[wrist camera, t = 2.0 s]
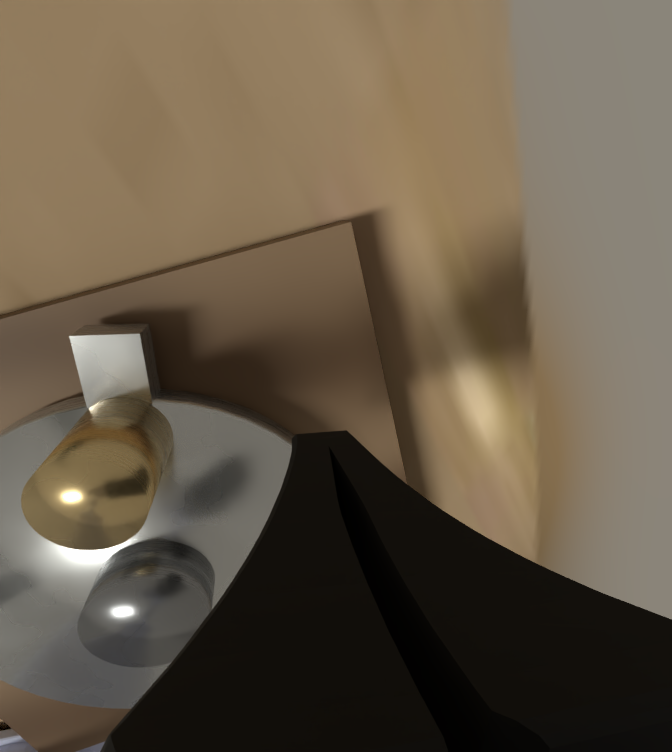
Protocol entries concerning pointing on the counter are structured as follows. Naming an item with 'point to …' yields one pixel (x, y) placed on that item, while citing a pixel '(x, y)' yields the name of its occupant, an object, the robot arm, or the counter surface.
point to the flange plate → (180, 509)
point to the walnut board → (213, 375)
